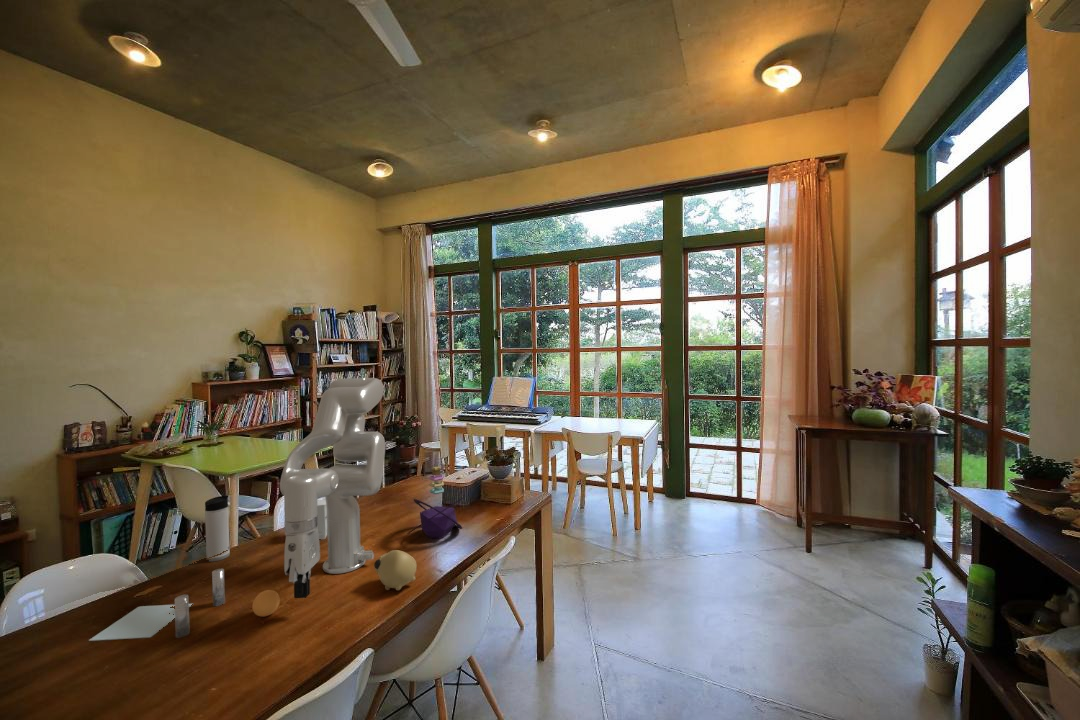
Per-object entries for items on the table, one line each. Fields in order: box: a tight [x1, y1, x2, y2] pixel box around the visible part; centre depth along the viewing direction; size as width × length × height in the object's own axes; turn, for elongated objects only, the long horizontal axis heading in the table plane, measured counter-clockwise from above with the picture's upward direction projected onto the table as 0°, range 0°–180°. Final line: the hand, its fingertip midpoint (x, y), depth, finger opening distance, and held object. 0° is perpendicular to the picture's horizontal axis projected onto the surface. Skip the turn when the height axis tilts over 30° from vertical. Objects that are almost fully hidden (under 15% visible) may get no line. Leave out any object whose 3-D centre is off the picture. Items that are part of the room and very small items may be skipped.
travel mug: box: [204, 494, 231, 562], centre depth 147 cm, size 6×7×20 cm
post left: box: [174, 594, 191, 639], centre depth 106 cm, size 3×3×9 cm
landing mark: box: [88, 603, 193, 642], centre depth 112 cm, size 14×14×1 cm
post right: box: [211, 568, 226, 607], centre depth 119 cm, size 3×3×9 cm
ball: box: [251, 589, 281, 617], centre depth 113 cm, size 6×6×6 cm
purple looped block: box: [406, 466, 467, 539], centre depth 161 cm, size 22×21×25 cm
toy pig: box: [373, 549, 417, 591], centre depth 126 cm, size 10×12×11 cm
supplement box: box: [317, 499, 327, 540], centre depth 163 cm, size 7×7×13 cm
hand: (302, 596), depth 113 cm, fingers closed
